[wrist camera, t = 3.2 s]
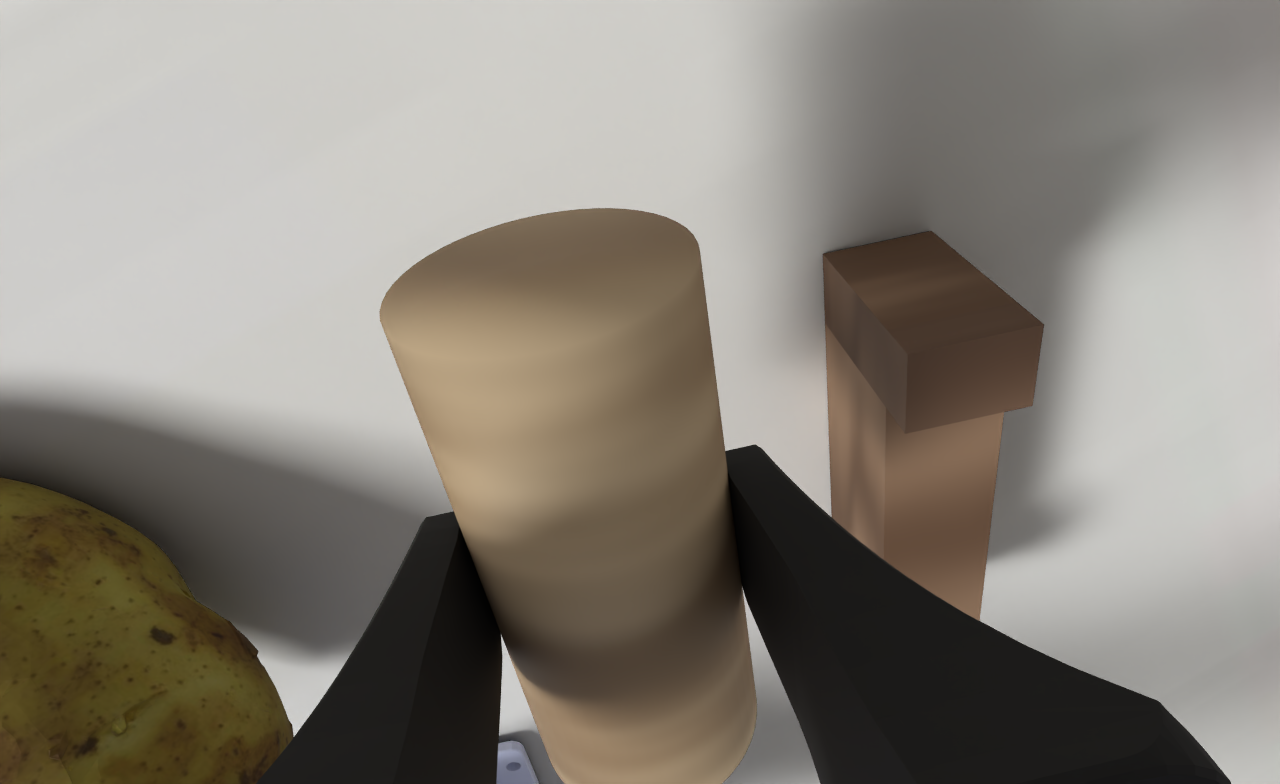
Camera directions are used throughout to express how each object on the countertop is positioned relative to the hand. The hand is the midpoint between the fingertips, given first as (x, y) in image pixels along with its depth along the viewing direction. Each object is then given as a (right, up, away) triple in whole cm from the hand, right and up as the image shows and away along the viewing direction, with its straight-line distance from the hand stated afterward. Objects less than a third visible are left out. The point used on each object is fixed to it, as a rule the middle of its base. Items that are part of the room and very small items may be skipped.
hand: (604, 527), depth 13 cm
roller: (0, +1, +1) cm, 2 cm away
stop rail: (+8, +1, +11) cm, 13 cm away
